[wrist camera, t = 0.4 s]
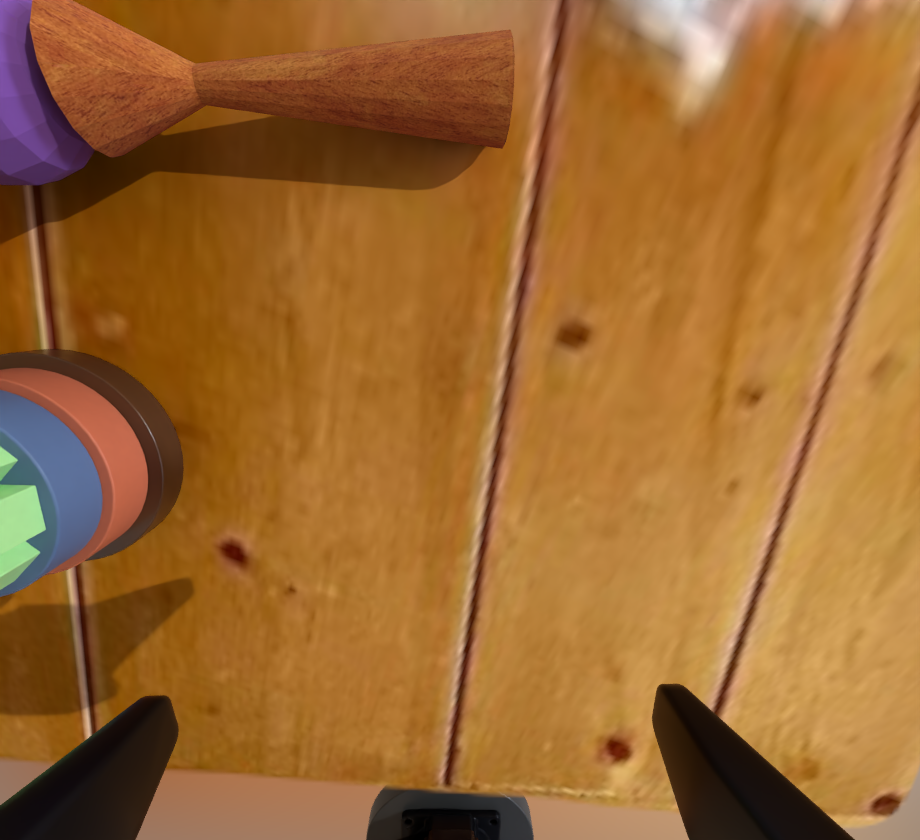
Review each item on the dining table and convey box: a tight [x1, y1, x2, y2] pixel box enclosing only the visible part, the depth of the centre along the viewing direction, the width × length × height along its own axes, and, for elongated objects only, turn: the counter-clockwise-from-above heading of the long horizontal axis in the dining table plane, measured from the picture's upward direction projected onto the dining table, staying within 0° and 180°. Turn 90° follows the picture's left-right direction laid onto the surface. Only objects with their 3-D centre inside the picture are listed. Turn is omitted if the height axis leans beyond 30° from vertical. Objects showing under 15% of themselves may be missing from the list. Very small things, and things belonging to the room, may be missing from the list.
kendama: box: [0, 0, 514, 185], centre depth 14 cm, size 6×6×20 cm
